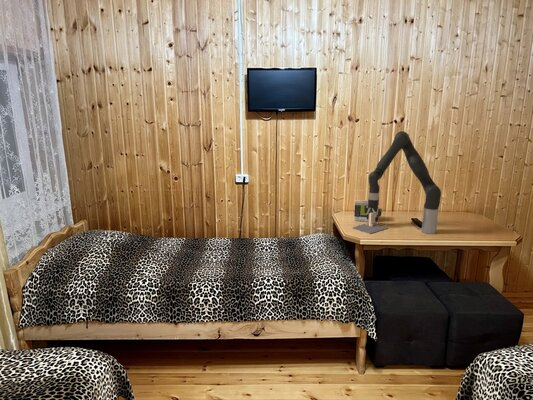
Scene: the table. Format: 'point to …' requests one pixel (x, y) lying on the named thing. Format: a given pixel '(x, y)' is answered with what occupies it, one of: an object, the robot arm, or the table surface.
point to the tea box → (360, 210)
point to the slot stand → (372, 224)
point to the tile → (371, 218)
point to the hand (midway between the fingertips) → (372, 220)
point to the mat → (370, 228)
